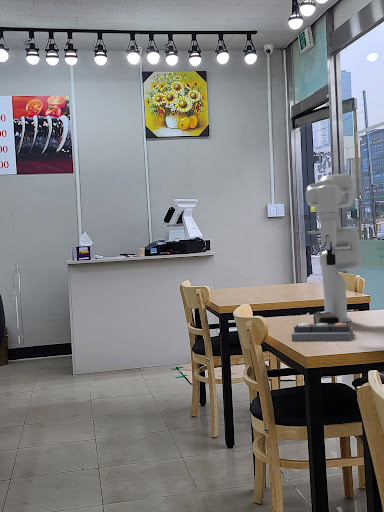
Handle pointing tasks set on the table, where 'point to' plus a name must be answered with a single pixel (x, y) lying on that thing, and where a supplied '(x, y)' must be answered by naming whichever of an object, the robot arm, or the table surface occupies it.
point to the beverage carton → (325, 318)
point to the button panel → (322, 332)
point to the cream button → (304, 325)
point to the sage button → (321, 324)
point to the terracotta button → (341, 324)
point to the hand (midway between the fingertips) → (331, 264)
